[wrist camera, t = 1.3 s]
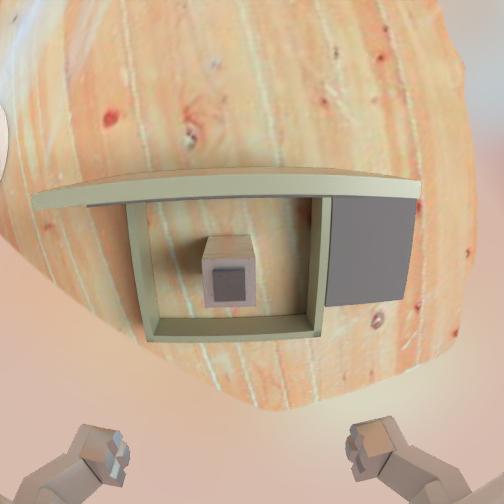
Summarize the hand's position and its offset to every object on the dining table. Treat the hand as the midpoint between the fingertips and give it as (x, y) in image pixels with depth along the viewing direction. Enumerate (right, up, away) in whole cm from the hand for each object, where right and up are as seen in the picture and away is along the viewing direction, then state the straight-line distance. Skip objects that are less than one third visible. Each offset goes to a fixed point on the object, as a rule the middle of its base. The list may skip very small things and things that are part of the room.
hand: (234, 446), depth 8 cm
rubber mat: (+13, +7, +22) cm, 26 cm away
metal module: (-2, +6, +21) cm, 22 cm away
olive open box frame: (-2, +6, +21) cm, 22 cm away
